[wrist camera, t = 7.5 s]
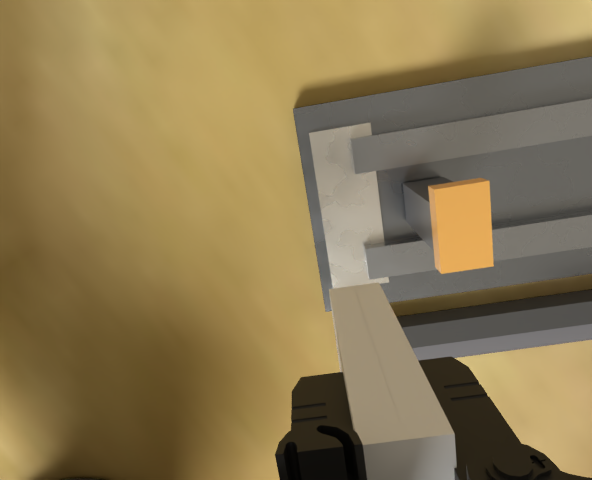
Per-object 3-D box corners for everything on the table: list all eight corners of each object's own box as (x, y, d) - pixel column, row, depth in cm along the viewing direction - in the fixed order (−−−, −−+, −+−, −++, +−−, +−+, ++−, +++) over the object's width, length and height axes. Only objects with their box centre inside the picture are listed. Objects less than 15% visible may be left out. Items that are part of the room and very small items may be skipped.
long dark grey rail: (362, 360, 31) (365, 373, 30) (357, 322, 31) (360, 333, 29) (716, 312, 30) (739, 323, 28) (721, 271, 29) (744, 279, 28)
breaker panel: (325, 304, 30) (326, 318, 28) (293, 108, 27) (292, 108, 25) (723, 246, 29) (757, 257, 26) (744, 30, 25) (785, 22, 23)
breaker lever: (407, 234, 27) (441, 274, 21) (401, 170, 26) (434, 189, 19) (447, 228, 27) (493, 266, 20) (442, 163, 26) (489, 180, 19)
